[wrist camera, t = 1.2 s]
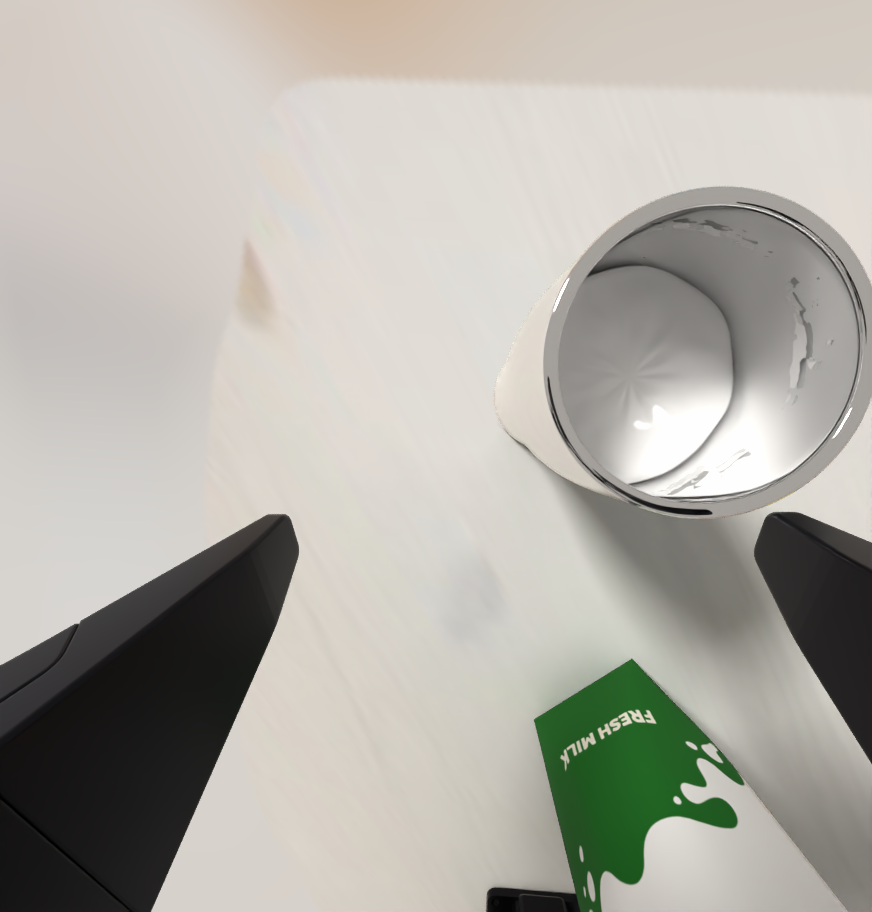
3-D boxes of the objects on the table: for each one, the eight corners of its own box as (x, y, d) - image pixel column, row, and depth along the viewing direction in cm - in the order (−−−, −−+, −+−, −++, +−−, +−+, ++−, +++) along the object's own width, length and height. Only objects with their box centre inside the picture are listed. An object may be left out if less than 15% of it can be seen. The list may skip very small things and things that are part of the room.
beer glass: (638, 389, 23) (977, 338, 8) (552, 482, 24) (711, 597, 9) (544, 305, 23) (707, 91, 8) (459, 402, 23) (461, 377, 8)
